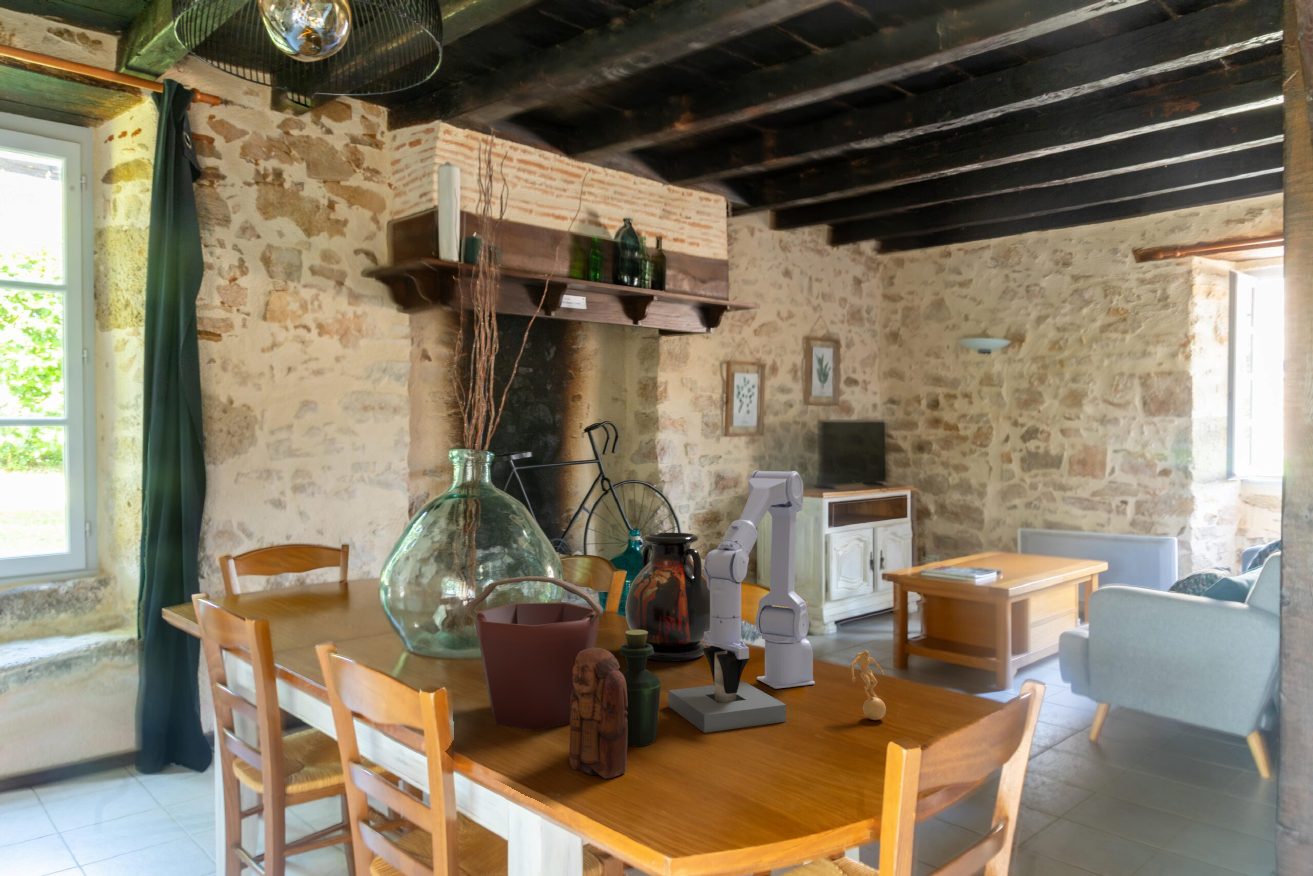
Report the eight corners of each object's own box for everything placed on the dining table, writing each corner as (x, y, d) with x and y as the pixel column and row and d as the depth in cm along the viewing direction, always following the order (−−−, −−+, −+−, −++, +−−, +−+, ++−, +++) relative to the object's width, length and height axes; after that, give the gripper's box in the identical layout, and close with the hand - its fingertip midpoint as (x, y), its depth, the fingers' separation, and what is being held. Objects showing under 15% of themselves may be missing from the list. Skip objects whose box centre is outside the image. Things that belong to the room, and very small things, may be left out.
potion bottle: (665, 733, 148) (665, 628, 148) (655, 750, 140) (655, 638, 140) (619, 730, 149) (619, 626, 149) (606, 746, 141) (606, 636, 141)
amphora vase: (606, 653, 204) (606, 534, 204) (672, 639, 218) (672, 528, 218) (668, 671, 188) (668, 542, 188) (736, 655, 202) (735, 535, 203)
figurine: (867, 727, 151) (867, 658, 151) (841, 718, 156) (841, 651, 156) (898, 718, 156) (898, 651, 156) (872, 709, 161) (872, 645, 161)
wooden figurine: (555, 762, 134) (555, 646, 134) (586, 752, 139) (586, 640, 139) (606, 783, 126) (606, 660, 126) (637, 772, 130) (637, 652, 131)
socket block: (744, 697, 169) (744, 681, 169) (786, 721, 154) (786, 704, 154) (668, 706, 163) (668, 690, 163) (704, 732, 148) (704, 715, 148)
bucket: (445, 724, 153) (445, 582, 153) (511, 690, 173) (511, 566, 173) (569, 741, 144) (569, 591, 144) (622, 704, 164) (622, 572, 164)
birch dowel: (730, 704, 161) (730, 650, 161) (740, 710, 157) (740, 655, 157) (710, 706, 159) (710, 652, 159) (720, 712, 156) (720, 657, 156)
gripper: (689, 609, 164) (689, 681, 164) (723, 624, 150) (723, 703, 150) (723, 607, 166) (723, 677, 166) (759, 621, 153) (759, 698, 153)
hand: (725, 689), depth 158 cm, fingers closed on birch dowel, 4 cm apart
